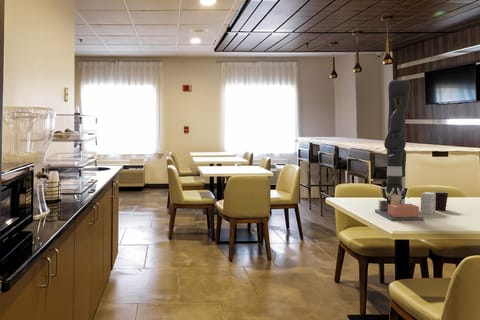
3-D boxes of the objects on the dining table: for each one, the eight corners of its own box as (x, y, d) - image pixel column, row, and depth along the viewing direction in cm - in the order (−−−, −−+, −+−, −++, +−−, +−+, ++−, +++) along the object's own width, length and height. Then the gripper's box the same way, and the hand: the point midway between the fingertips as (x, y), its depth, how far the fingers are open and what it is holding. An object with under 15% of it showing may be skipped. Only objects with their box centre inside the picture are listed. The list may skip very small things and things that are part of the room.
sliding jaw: (387, 213, 224) (387, 203, 223) (410, 213, 224) (410, 203, 224) (394, 217, 214) (394, 207, 214) (418, 216, 215) (418, 206, 214)
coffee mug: (443, 211, 237) (443, 193, 236) (427, 209, 243) (428, 191, 243) (453, 209, 244) (453, 191, 243) (437, 207, 251) (438, 190, 250)
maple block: (387, 208, 233) (388, 193, 233) (396, 208, 233) (396, 193, 233) (391, 210, 228) (391, 195, 228) (400, 210, 228) (400, 195, 228)
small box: (424, 210, 240) (425, 191, 239) (435, 212, 236) (436, 192, 236) (420, 212, 234) (420, 193, 233) (431, 214, 230) (431, 194, 229)
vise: (374, 212, 237) (375, 200, 236) (404, 211, 237) (404, 199, 237) (391, 220, 213) (391, 207, 213) (423, 220, 214) (423, 207, 213)
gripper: (404, 174, 234) (404, 205, 235) (378, 174, 233) (378, 206, 234) (410, 175, 226) (410, 208, 227) (383, 175, 226) (383, 208, 227)
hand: (393, 206), depth 231 cm, fingers closed on maple block, 4 cm apart
